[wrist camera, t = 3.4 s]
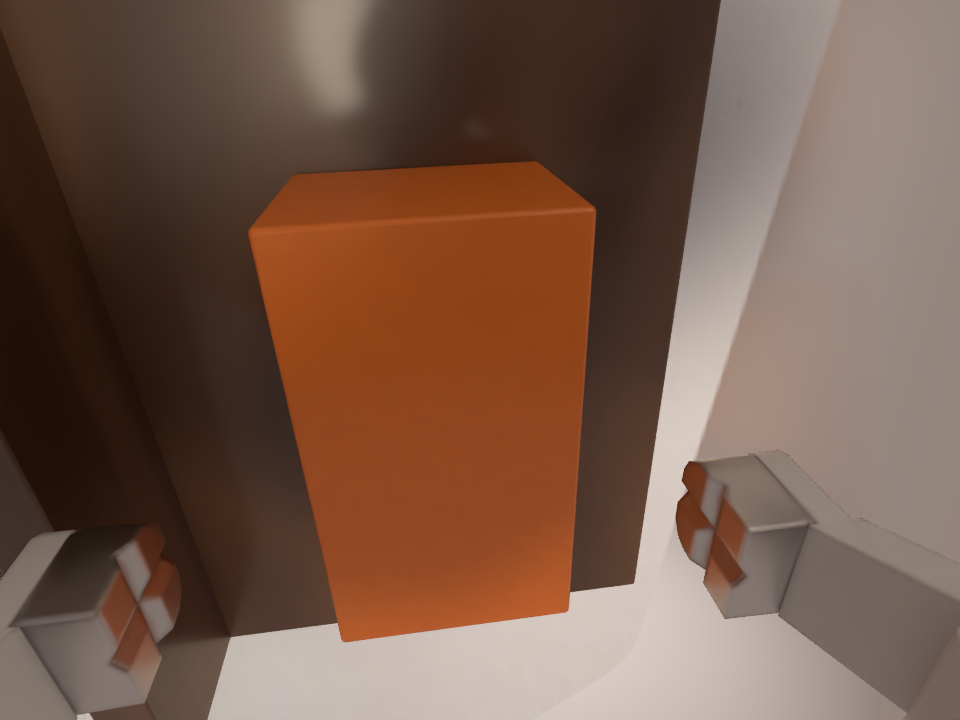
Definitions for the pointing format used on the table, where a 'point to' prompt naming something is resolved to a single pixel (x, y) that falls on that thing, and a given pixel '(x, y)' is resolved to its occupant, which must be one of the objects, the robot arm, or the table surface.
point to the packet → (434, 384)
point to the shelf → (233, 277)
